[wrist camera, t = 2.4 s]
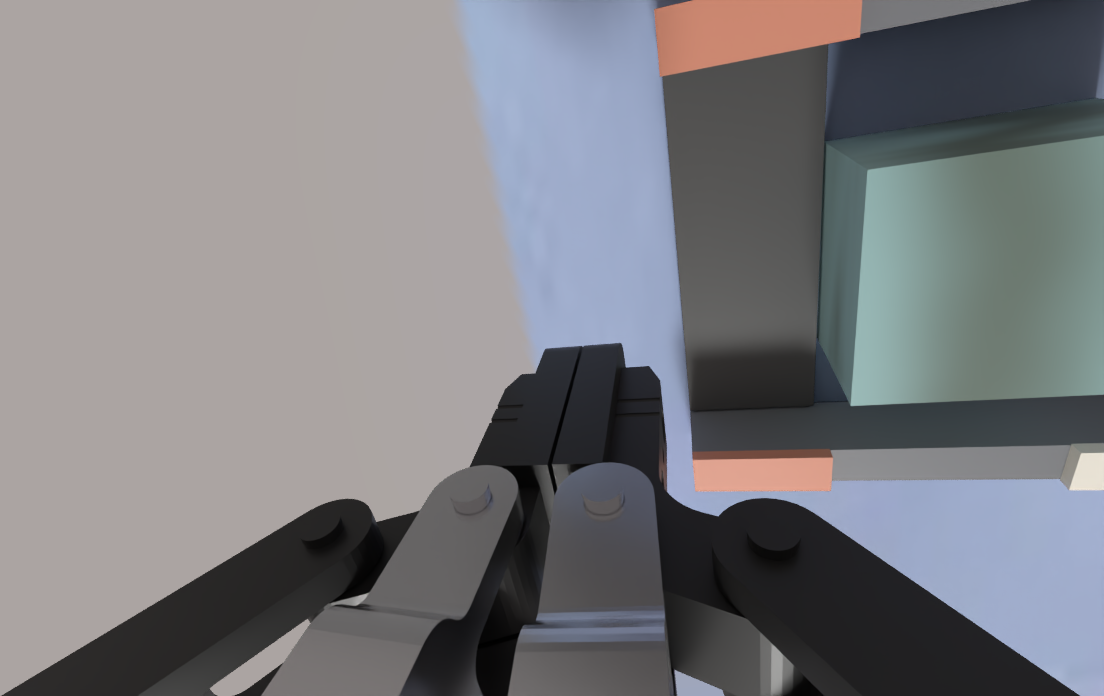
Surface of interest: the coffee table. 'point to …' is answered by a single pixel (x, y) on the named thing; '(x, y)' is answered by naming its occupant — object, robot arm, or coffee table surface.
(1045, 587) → the coffee table surface
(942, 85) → the coffee table surface
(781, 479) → the open tray box
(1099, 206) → the teal block
